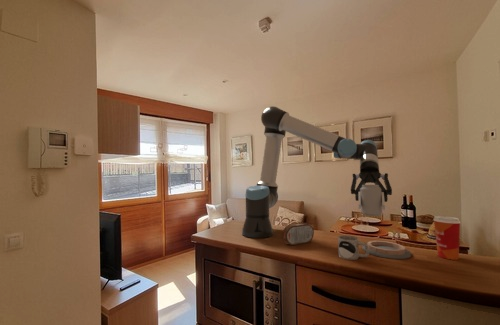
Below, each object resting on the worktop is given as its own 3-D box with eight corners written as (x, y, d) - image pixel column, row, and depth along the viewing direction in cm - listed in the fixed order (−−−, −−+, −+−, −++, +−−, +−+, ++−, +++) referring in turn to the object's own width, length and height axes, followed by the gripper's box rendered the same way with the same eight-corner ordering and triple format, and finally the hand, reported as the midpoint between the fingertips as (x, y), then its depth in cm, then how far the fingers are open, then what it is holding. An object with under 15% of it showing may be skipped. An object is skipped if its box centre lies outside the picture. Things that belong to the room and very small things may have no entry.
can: (377, 213, 95) (375, 184, 96) (386, 216, 88) (384, 184, 89) (358, 213, 96) (357, 184, 97) (365, 216, 89) (364, 185, 89)
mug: (336, 257, 82) (336, 238, 83) (340, 252, 88) (340, 234, 88) (367, 263, 77) (367, 243, 77) (370, 257, 82) (370, 238, 83)
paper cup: (432, 252, 88) (431, 214, 89) (459, 255, 84) (457, 216, 85) (436, 258, 81) (434, 218, 82) (465, 262, 78) (463, 220, 78)
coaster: (356, 251, 88) (356, 245, 88) (368, 242, 100) (368, 237, 100) (407, 262, 78) (407, 255, 78) (414, 250, 89) (413, 244, 90)
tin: (310, 240, 104) (310, 221, 104) (315, 242, 101) (315, 222, 101) (282, 244, 97) (281, 224, 98) (286, 247, 94) (286, 226, 95)
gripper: (395, 171, 102) (402, 214, 87) (345, 172, 111) (343, 211, 96) (396, 158, 98) (403, 201, 82) (344, 160, 107) (342, 199, 91)
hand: (371, 206), depth 89 cm, fingers closed on can, 7 cm apart
